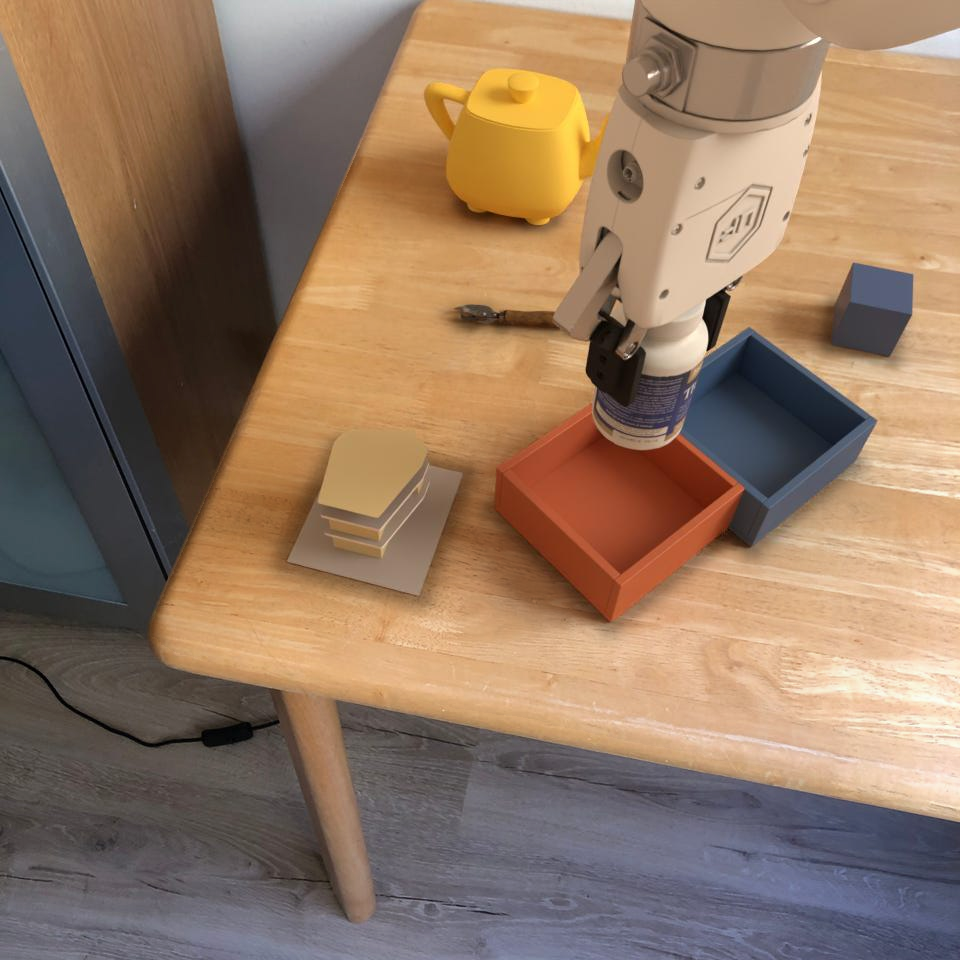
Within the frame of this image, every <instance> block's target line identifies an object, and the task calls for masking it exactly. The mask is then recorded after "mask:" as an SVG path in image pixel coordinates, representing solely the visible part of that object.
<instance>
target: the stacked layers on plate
mask: <svg viewBox="0 0 960 960" xmlns="http://www.w3.org/2000/svg"><path fill="white" fill-rule="evenodd" d="M332 444H333V445H332V448H331V451H330V455H329V457H328V461H327V466H326V469H325V473H324V476H323V480H322V484H321V487H320V489H319V491H318V493H317V495H316V497H315V499H314V502H313V503H312V506H311V508H310V509H309V510H310V511H309V512H308V514H307V517H306V519H305V521H304V523H303V525H302V528H301V530H300V532H299V534H298V535H297V538H296V541H295V543H294V545H293V547H292V549H291V552H290V554H289V556H288V558H287V560H286V562H287V563H291V564H295V565H298V566H302V567H305V568H309V569H312V570H318V571H321V572H325V573H330V574H333V575H336V576H341V577H343V578H348V579H353V580H357V581H360V582H363V583H367V584H371V585H375V586H379V587H382V588H386V589H390V590H394V591H397V592H401V593H406V594H409V595H413V596H417V597H419V596H420V595H421V592H422V589H423V586H424V584H425V581H426V578H427V575H428V572H429V570H430V566H431V564H432V561H433V558H434V556H435V553H436V550H437V547H438V544H439V542H440V539H441V536H442V533H443V531H444V528H445V525H446V522H447V520H448V518H449V514H450V512H451V509H452V507H453V504H454V500H455V498H456V496H457V492H458V490H459V487H460V484H461V482H462V480H463V479H462V478H463V476H464V472H461V471H456V470H452V469H447V468H443V467H439V466H434V465H432V464H431V465H430V460H429V459H428V458H427V456H428V455H427V454H428V453H429V448H428V446H427V445H426V444H425V442H423V440H422V439H421V438H420V436H419V435H418V434H417V433H416V431H414V430H411V429H384V428H383V429H382V428H378V429H377V428H375V429H374V428H372V429H371V428H355V429H349V430H347V431H345V432H343V433H342V434H341V435H339V436H338V437H337V438H336V439H335V441H334V442H333V443H332Z"/></svg>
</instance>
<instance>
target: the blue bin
mask: <svg viewBox="0 0 960 960" xmlns="http://www.w3.org/2000/svg"><path fill="white" fill-rule="evenodd" d="M877 423H878V419H877V418H875V417H874V416H872V415H871V414H870V413H868V412H867V411H866V410H864V409H863V408H862V407H860V406H858V405H857V404H856V403H855V402H853V401H852V400H850V399H849V398H848V397H846V396H845V395H844V394H842V393H841V392H840V391H838V390H837V389H835V388H834V387H833V386H831V385H830V384H829V383H827V382H826V381H825V380H823V379H822V378H821V377H819V376H817V375H816V374H815V373H814V372H812V371H811V370H809V369H808V368H807V367H805V366H804V365H802V364H801V363H800V362H799V361H797V360H796V359H794V358H793V357H791V356H790V355H789V354H787V353H786V352H785V351H783V350H782V349H781V348H779V347H778V346H776V345H775V344H774V343H772V342H771V341H770V340H768V339H767V338H766V337H764V336H762V335H761V334H760V333H758V332H757V331H755V330H754V329H753V328H752V327H750V326H748V327H747V328H745V329H743V330H742V331H740V333H738V334H736V335H735V336H734V337H732V338H731V339H729V340H728V341H727V342H725V343H724V344H722V345H721V346H719V347H717V348H716V349H715V350H714V351H712V352H711V353H709V354H708V355H705V357H704V360H703V363H702V366H701V370H700V373H699V376H698V379H697V383H696V386H695V389H694V392H693V395H692V399H691V402H690V405H689V408H688V411H687V414H686V418H685V421H684V424H683V426H682V428H681V431H680V432H679V433H680V434H681V436H684V437H685V438H686V439H687V440H688V441H689V442H690V443H692V445H694V446H696V447H697V448H698V450H701V451H702V453H703V454H705V455H706V456H708V458H709V459H711V460H712V461H713V462H714V463H715V464H718V465H719V467H721V468H722V469H723V470H724V471H725V472H727V474H730V476H732V478H735V480H736V481H737V483H741V485H742V486H744V487H745V489H744V492H743V494H742V496H741V499H740V501H739V504H738V506H737V508H736V511H735V513H734V515H733V518H732V520H731V523H730V525H729V527H728V529H729V531H731V532H732V534H734V535H735V536H737V537H738V538H739V539H740V540H741V541H743V543H745V545H747V546H748V547H749V548H753V547H754V546H756V545H757V544H758V543H760V541H761V540H763V539H764V538H765V537H766V536H768V534H770V533H771V532H773V530H774V529H776V528H777V527H778V526H779V525H780V524H782V523H783V522H784V521H786V519H788V518H789V517H791V516H792V515H793V514H794V513H795V512H796V511H798V510H799V509H800V508H801V507H802V506H803V505H805V504H806V503H807V502H808V501H810V500H811V499H812V498H813V497H815V495H817V494H818V493H819V492H820V491H821V490H823V489H824V488H825V487H826V486H828V485H829V484H830V483H832V481H834V480H835V479H836V478H837V477H839V476H840V475H841V474H842V473H843V472H844V471H846V470H847V469H848V468H850V467H851V466H852V465H853V464H854V463H855V462H856V461H857V460H858V457H859V455H860V454H861V452H862V451H863V449H864V446H865V445H866V443H867V441H868V439H869V438H870V436H871V434H872V433H873V431H874V429H875V428H876V425H877Z"/></svg>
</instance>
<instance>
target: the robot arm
mask: <svg viewBox="0 0 960 960" xmlns="http://www.w3.org/2000/svg"><path fill="white" fill-rule="evenodd" d="M959 29H960V0H634V4H633V11H632V17H631V23H630V30H629V37H628V44H627V50H626V57H625V63H624V65H623V66H622V71H621V79H622V83H621V84H620V85H619V86H618V89H617V91H616V94H615V97H614V101H613V104H612V106H611V110H610V111H609V113H610V115H609V119H608V122H607V125H606V129H605V132H604V135H603V139H602V142H601V146H600V150H599V153H598V157H597V161H596V165H595V169H594V173H593V176H591V177H592V178H591V182H590V186H589V191H588V196H587V201H586V206H585V211H584V217H583V223H582V224H583V225H582V230H581V235H580V236H581V237H580V246H579V255H578V257H579V258H578V266H579V267H578V271H579V275H578V276H577V277H576V279H575V281H574V282H573V284H572V286H571V287H570V289H569V290H568V291H567V293H566V294H565V296H564V297H563V299H562V301H561V302H560V304H559V306H558V307H557V308H556V310H555V311H554V312H555V313H554V315H553V318H552V322H553V323H554V324H555V325H556V326H558V327H557V328H559V329H560V330H561V331H562V332H563V333H564V334H566V335H567V336H568V337H570V338H571V339H574V340H576V341H577V340H578V341H581V342H585V343H588V342H589V345H588V353H587V357H586V362H585V374H586V376H587V378H588V379H589V380H590V382H591V383H592V385H593V386H594V387H595V386H596V387H597V388H598V389H599V390H600V391H602V392H603V393H607V394H609V395H610V396H611V397H612V398H613V399H614V400H616V401H617V402H618V403H619V404H620V405H622V406H623V407H628V406H629V405H631V404H632V403H634V402H635V399H636V396H637V391H638V387H639V383H640V378H641V374H642V370H643V365H644V361H645V357H646V352H645V350H644V349H643V348H642V347H641V346H640V344H641V342H642V340H643V338H644V336H645V333H646V331H647V329H648V328H654V327H658V326H662V325H664V324H667V323H669V322H671V321H672V320H674V319H676V318H678V317H679V316H681V315H682V314H684V313H686V312H687V311H689V310H690V309H692V308H693V307H695V306H697V305H698V304H700V303H701V302H703V301H704V300H706V303H705V308H704V312H703V316H702V319H703V320H704V322H705V325H706V327H707V331H708V345H707V350H706V353H707V352H709V351H710V350H712V349H714V348H715V347H716V345H717V343H718V339H719V336H720V333H721V330H722V326H723V323H724V320H725V317H726V313H727V310H728V309H729V304H730V301H731V298H732V296H731V295H730V293H728V292H732V291H733V290H735V289H736V288H737V287H738V286H739V285H740V283H741V282H742V281H743V277H744V275H745V274H747V273H749V271H751V270H753V269H754V268H755V267H757V266H758V265H760V264H761V263H762V262H764V261H765V260H766V259H768V258H769V257H770V256H771V255H772V254H773V252H775V251H776V249H777V248H778V247H779V245H780V244H781V242H782V241H783V237H784V236H785V232H786V229H787V226H788V224H789V221H790V218H791V215H792V211H793V208H794V205H795V202H796V198H797V195H798V191H799V188H800V185H801V181H802V178H803V174H804V170H805V166H806V162H807V159H808V155H809V151H810V147H811V143H812V139H813V135H814V130H815V126H816V120H817V115H818V110H819V103H820V96H821V89H822V77H823V76H822V75H823V67H824V64H825V61H826V58H827V56H828V52H829V49H830V46H831V44H833V45H835V46H837V47H839V48H844V49H849V50H856V51H864V52H868V51H883V50H889V49H893V48H898V47H902V46H903V47H904V46H906V45H907V46H908V45H911V44H914V43H917V42H921V41H924V40H927V39H932V38H935V37H937V36H940V35H943V34H945V33H948V32H952V31H954V30H959ZM726 291H727V292H726ZM617 301H618V302H619V303H622V305H623V309H624V312H625V314H626V316H627V318H629V319H628V321H627V324H626V326H623V325H622V324H621V323H620V322H618V321H617V320H616V319H615V318H613V317H611V316H610V314H611V313H612V311H613V310H614V307H615V306H616V305H615V304H616V302H617Z"/></svg>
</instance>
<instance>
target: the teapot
mask: <svg viewBox="0 0 960 960" xmlns="http://www.w3.org/2000/svg"><path fill="white" fill-rule="evenodd" d="M423 96H424V98H423V99H424V102H425V105H426V108H427V110H428V112H429V114H430V116H431V117H432V119H433V120H434V122H435V123H436V125H437V127H438V128H439V129H440V131H441V132H442V134H443V135H444V136H445V138H447V140H448V142H449V145H448V150H447V154H446V163H445V177H446V180H447V183H448V185H449V187H450V188H451V190H452V191H453V193H454V194H455V195H456V197H458V198H459V199H460V200H461V201H463V202H464V203H466V206H467V208H468V209H469V210H470V211H472V212H474V213H485V212H490V213H493V214H496V215H502V216H507V217H513V218H522V219H525V220H526V221H527V223H529V224H531V225H533V226H543V225H545V224H548V223H549V221H550V219H552V218H556V217H558V216H560V215H561V214H562V213H563V212H565V210H566V209H567V208H568V207H569V206H570V204H571V203H572V202H573V201H574V199H575V197H576V196H577V194H578V192H579V191H580V189H581V187H582V185H583V183H584V180H586V179H588V178H591V177H593V173H594V169H595V165H596V161H597V157H598V153H599V150H600V146H601V142H602V139H603V135H604V132H605V129H606V125H607V122H608V119H609V115H610V112H608V114H606V117H605V118H604V120H603V122H602V125H601V128H600V131H599V134H598V135H597V136H596V137H595V138H594V139H592V140H591V135H590V133H591V132H590V125H589V121H588V117H587V113H586V109H585V105H584V102H583V100H582V97H581V93H580V91H579V89H578V87H576V86H575V85H574V84H573V83H571V82H569V81H567V80H564V79H562V78H559V77H555V76H552V75H549V74H545V73H541V72H537V71H532V70H531V71H530V70H524V69H523V70H522V69H515V68H514V69H513V68H493V69H489V70H486V71H485V72H483V74H481V75H480V76H479V78H478V79H477V81H476V82H475V84H474V85H473V87H472V88H471V91H469V90H467V89H465V88H462V87H458V86H456V85H453V84H449V83H446V82H431V83H429V84H427V85H426V87H425V88H424V91H423ZM445 100H448V101H452V102H455V103H458V104H461V105H463V106H462V108H461V111H460V113H459V116H458V118H457V119H456V120H457V121H456V123H455V122H454V121H453V120H452V118H451V116H450V114H449V112H448V110H447V107H446V104H445Z"/></svg>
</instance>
